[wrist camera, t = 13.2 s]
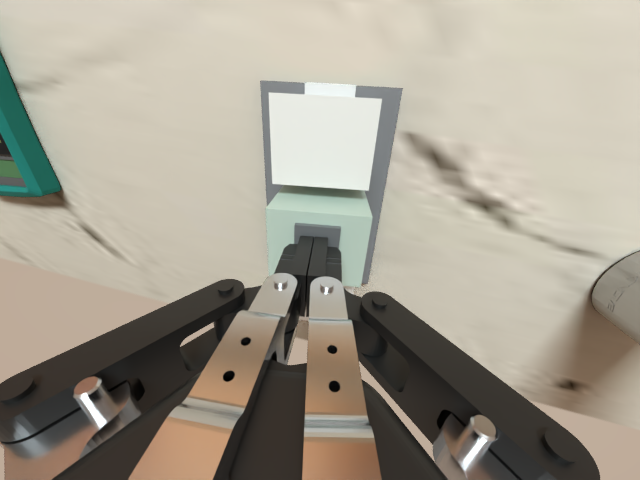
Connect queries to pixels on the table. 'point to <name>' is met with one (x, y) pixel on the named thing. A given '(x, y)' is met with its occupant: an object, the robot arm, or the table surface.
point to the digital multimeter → (20, 148)
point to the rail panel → (330, 141)
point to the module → (321, 224)
